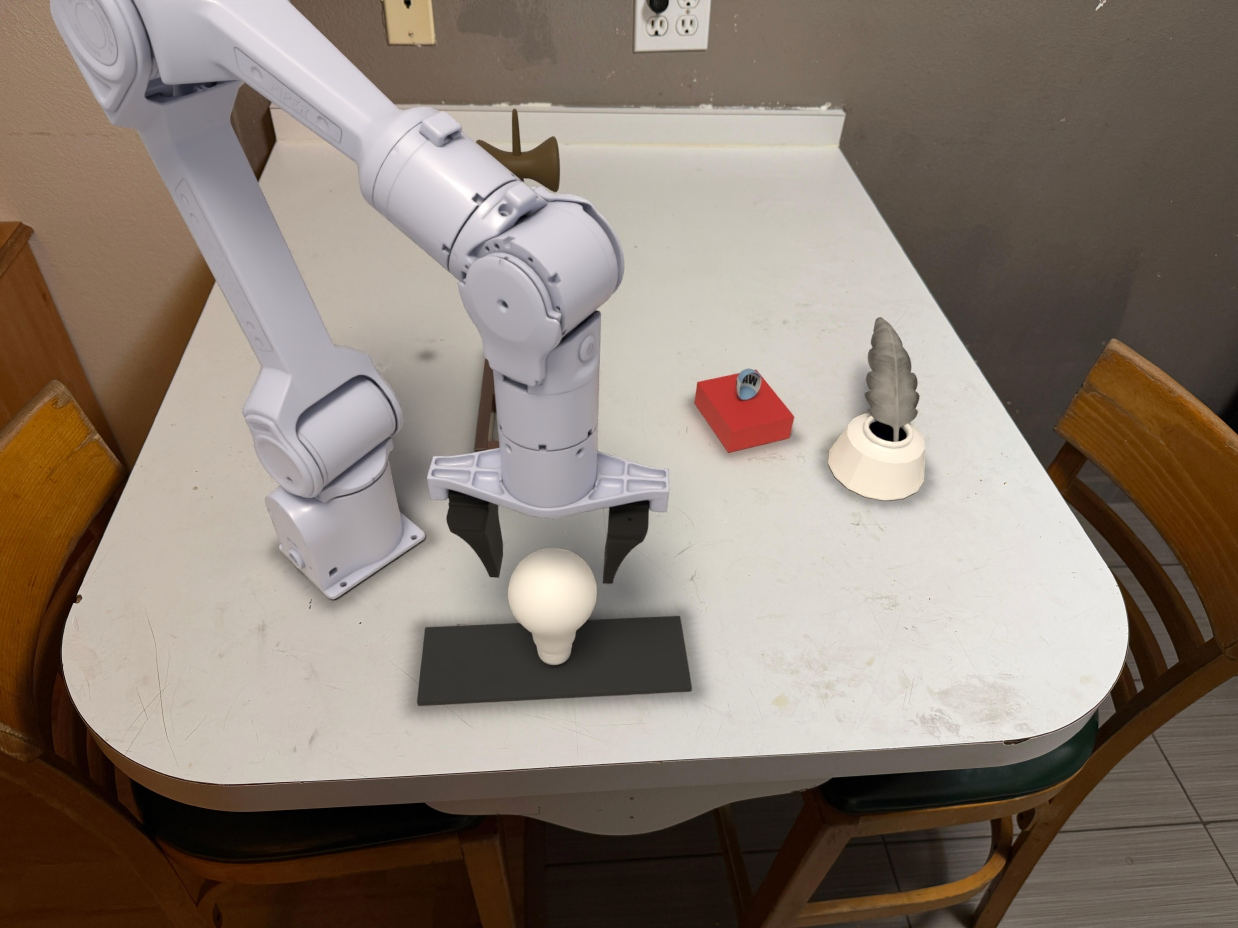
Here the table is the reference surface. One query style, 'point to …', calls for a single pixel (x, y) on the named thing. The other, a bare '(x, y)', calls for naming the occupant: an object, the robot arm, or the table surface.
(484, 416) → the holder
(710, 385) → the red slab
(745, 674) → the table surface
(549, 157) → the kendama
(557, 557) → the lightbulb
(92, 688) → the table surface
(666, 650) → the mat
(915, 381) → the inkwell
